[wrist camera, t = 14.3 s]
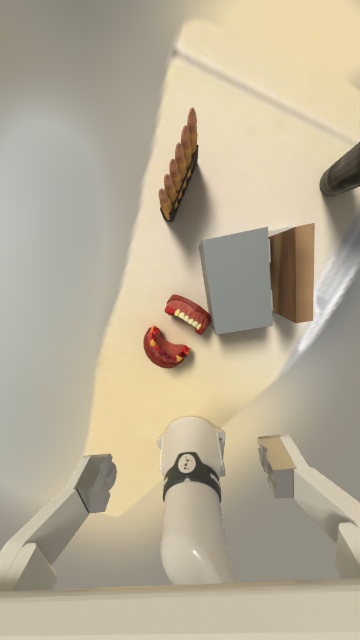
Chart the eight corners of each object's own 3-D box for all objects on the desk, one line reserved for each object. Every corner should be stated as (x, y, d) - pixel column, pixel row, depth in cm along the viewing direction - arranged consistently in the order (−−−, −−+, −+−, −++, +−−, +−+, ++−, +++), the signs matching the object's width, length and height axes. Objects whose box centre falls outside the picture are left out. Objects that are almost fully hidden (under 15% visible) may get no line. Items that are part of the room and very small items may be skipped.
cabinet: (291, 308, 38) (317, 318, 31) (210, 321, 40) (215, 334, 32) (289, 227, 34) (319, 215, 26) (198, 246, 36) (202, 240, 28)
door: (284, 234, 34) (323, 221, 24) (286, 305, 38) (320, 319, 28) (264, 238, 34) (295, 226, 24) (268, 308, 38) (296, 323, 28)
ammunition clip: (171, 222, 35) (164, 201, 23) (163, 218, 34) (151, 193, 23) (197, 162, 32) (203, 102, 20) (188, 156, 32) (188, 93, 20)
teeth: (222, 323, 32) (175, 381, 36) (216, 312, 39) (179, 362, 43) (173, 289, 31) (131, 353, 35) (177, 285, 39) (142, 338, 43)
